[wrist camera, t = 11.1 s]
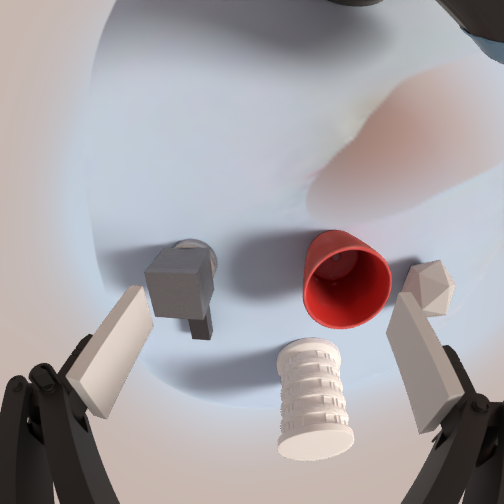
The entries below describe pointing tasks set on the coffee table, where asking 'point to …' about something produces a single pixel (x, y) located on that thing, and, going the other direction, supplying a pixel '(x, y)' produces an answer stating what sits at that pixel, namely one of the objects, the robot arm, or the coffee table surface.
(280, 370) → the decorative container
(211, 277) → the grey wood-grain cube
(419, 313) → the robot arm
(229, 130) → the coffee table surface
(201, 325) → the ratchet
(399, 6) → the coffee table surface
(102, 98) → the coffee table surface
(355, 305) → the flower pot
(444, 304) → the die
